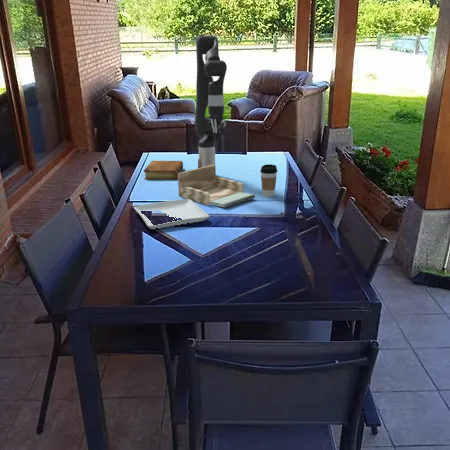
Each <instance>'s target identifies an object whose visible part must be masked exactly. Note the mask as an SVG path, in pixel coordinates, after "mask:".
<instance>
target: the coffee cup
mask: <svg viewBox="0 0 450 450" xmlns="http://www.w3.org/2000/svg"><path fill="white" fill-rule="evenodd" d="M277 167H278V166H277V165H275V164H272V163H271V164H270V163H269V164H268V163H267V164H263V165H262V166H261V168H260V174H261V175H260V179H261V181H260V182H261V189H262V190H261V192H262V193H261V195H262V196H263V197H267V198H271V197H274V196H275V193H276V183H277V173H278V168H277Z"/></svg>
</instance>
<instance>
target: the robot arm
mask: <svg viewBox="0 0 450 450" xmlns="http://www.w3.org/2000/svg"><path fill="white" fill-rule="evenodd" d="M195 41H196V43H195V45H196V46H195V47H196V48H195V51H196V86H195V87H196V88H195V89H196V97H195V99H196V101H195V102H196V103H195V104H196V105H195V114H194V115H195V116H194V130H195V132H196V134H197V135H199V136H202V135H204V136H203V137H202V138H201V139H199V141H198V142H197V143H198V144H197V145H198V158H197V168H201V167H206V166H210V165H215V166H216V141H220V139H221V135H220V134H221V133H222V132H223V131H224V130H225V128H226V127H227V125H228V123H227V121H225V120H224V119H225V118H224V114H225V98H224V97H225V96H224V83H225V77H226V73H227V70H228V68H227V67H228V66H227V63H226V62H225V61H224V60H221V58H220V55H219V54H220V52H219V51H220V50H219V41H218V38H217V36H215V35H197V37H196V40H195ZM203 55H205V56H203ZM213 77H218V78H217V80H214V78H213ZM207 108H208V115H209V116H206V112H207Z"/></svg>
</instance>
